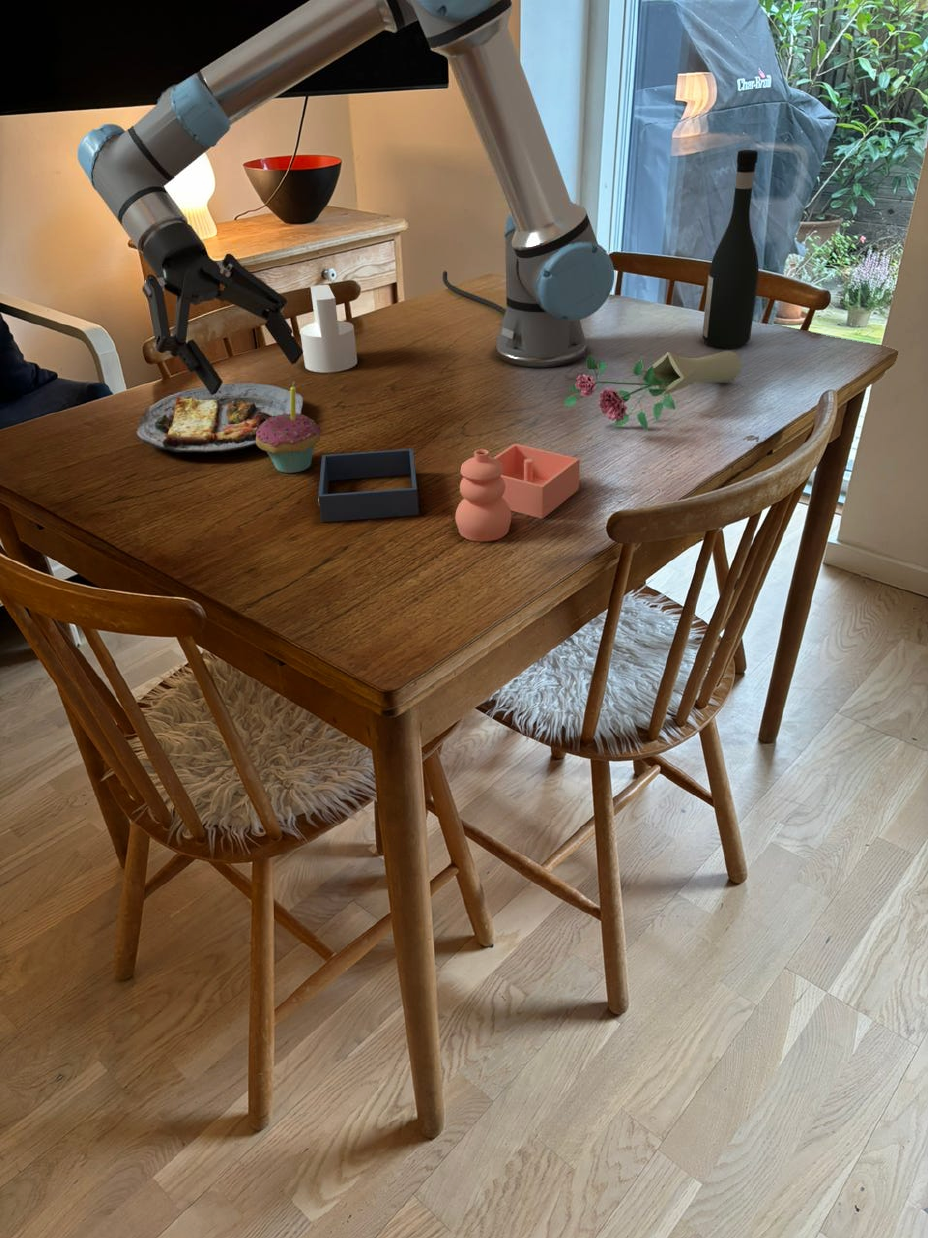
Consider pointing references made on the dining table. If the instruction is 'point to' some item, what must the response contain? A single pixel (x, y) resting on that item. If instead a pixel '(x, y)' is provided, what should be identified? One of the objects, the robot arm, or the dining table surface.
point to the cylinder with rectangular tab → (327, 336)
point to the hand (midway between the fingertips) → (259, 373)
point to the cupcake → (289, 438)
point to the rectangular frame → (367, 501)
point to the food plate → (213, 417)
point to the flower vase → (657, 382)
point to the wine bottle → (734, 269)
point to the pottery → (512, 488)
